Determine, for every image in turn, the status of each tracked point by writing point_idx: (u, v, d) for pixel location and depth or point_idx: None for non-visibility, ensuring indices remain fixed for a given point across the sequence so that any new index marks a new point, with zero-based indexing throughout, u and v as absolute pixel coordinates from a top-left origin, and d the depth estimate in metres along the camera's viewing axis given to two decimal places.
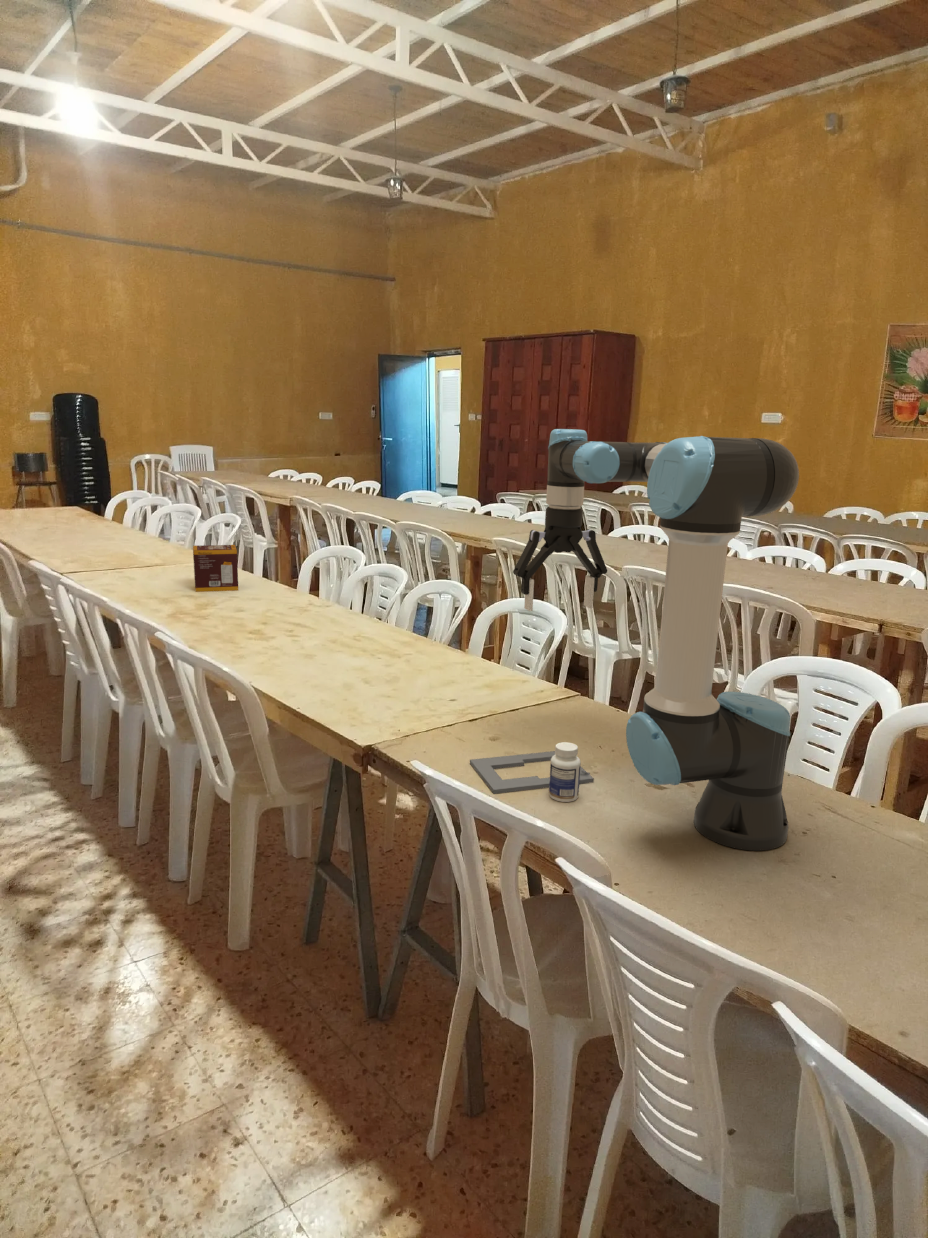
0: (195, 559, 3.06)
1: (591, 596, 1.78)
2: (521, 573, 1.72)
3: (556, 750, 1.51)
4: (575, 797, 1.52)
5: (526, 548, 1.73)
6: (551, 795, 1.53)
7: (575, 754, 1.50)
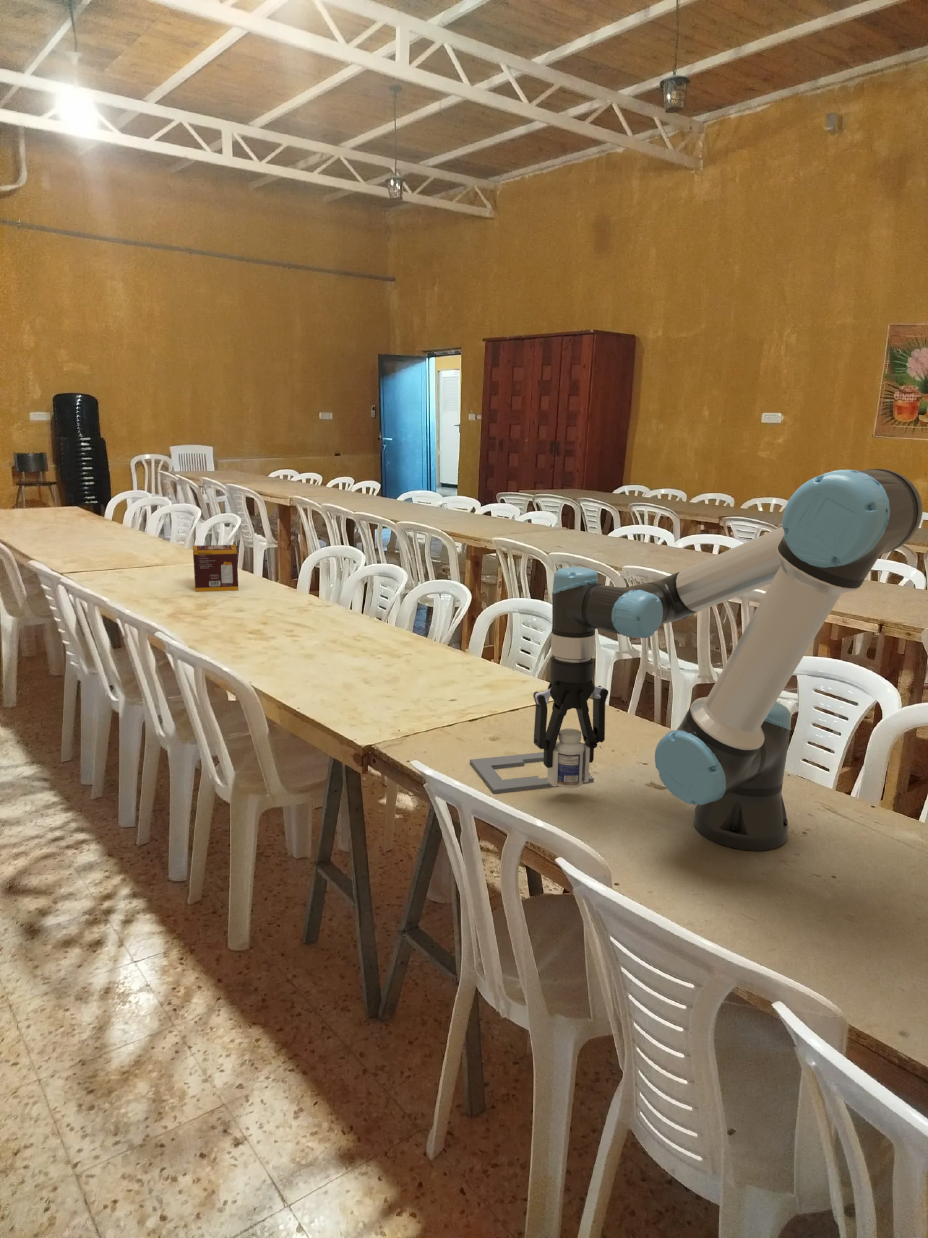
0: (195, 559, 3.06)
1: (586, 769, 1.52)
2: (543, 745, 1.48)
3: (559, 736, 1.50)
4: (580, 783, 1.51)
5: (537, 715, 1.48)
6: None
7: (579, 739, 1.49)
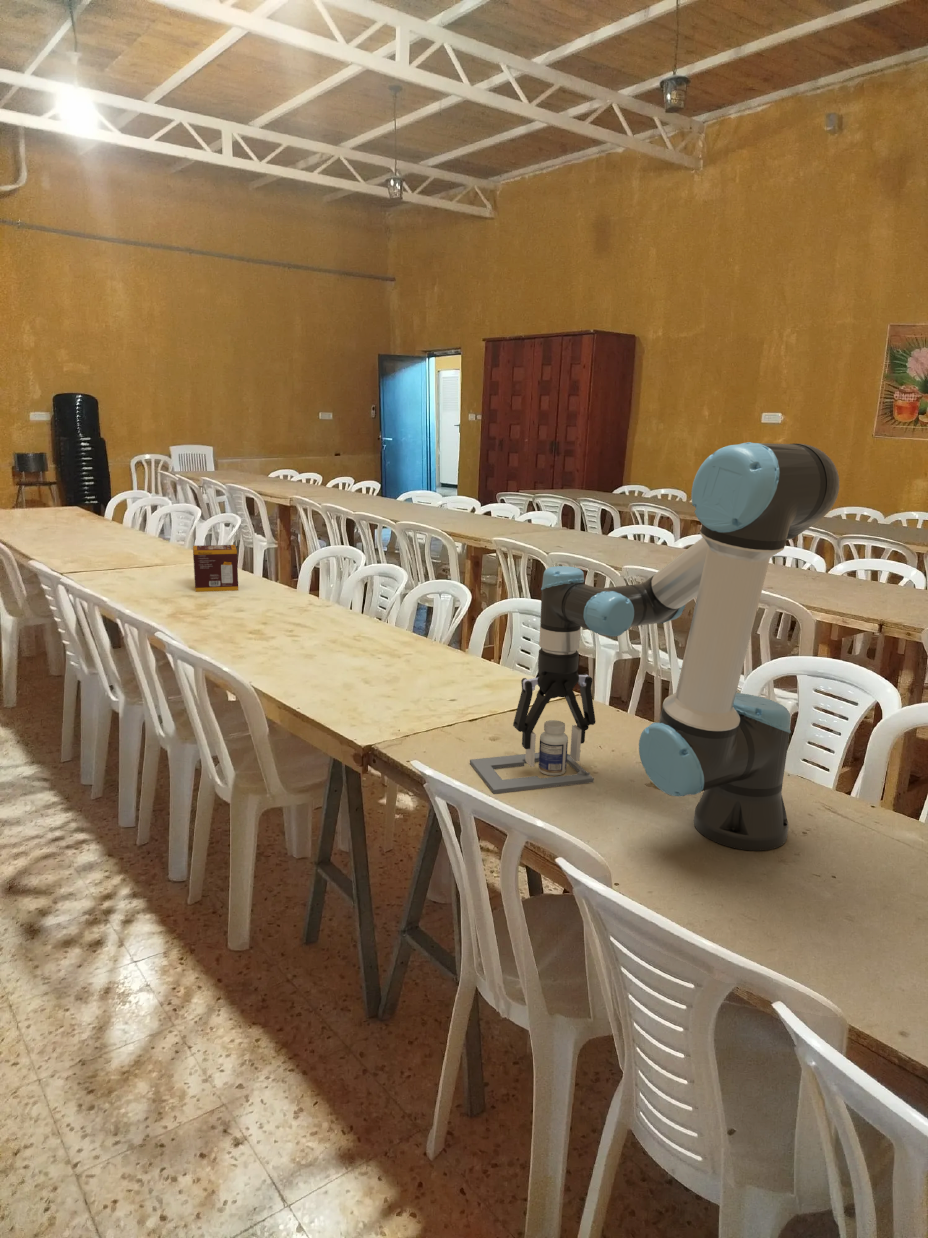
0: (195, 559, 3.06)
1: (578, 749, 1.64)
2: (522, 728, 1.59)
3: (545, 727, 1.62)
4: (563, 771, 1.63)
5: (521, 699, 1.59)
6: (540, 769, 1.63)
7: (562, 731, 1.61)
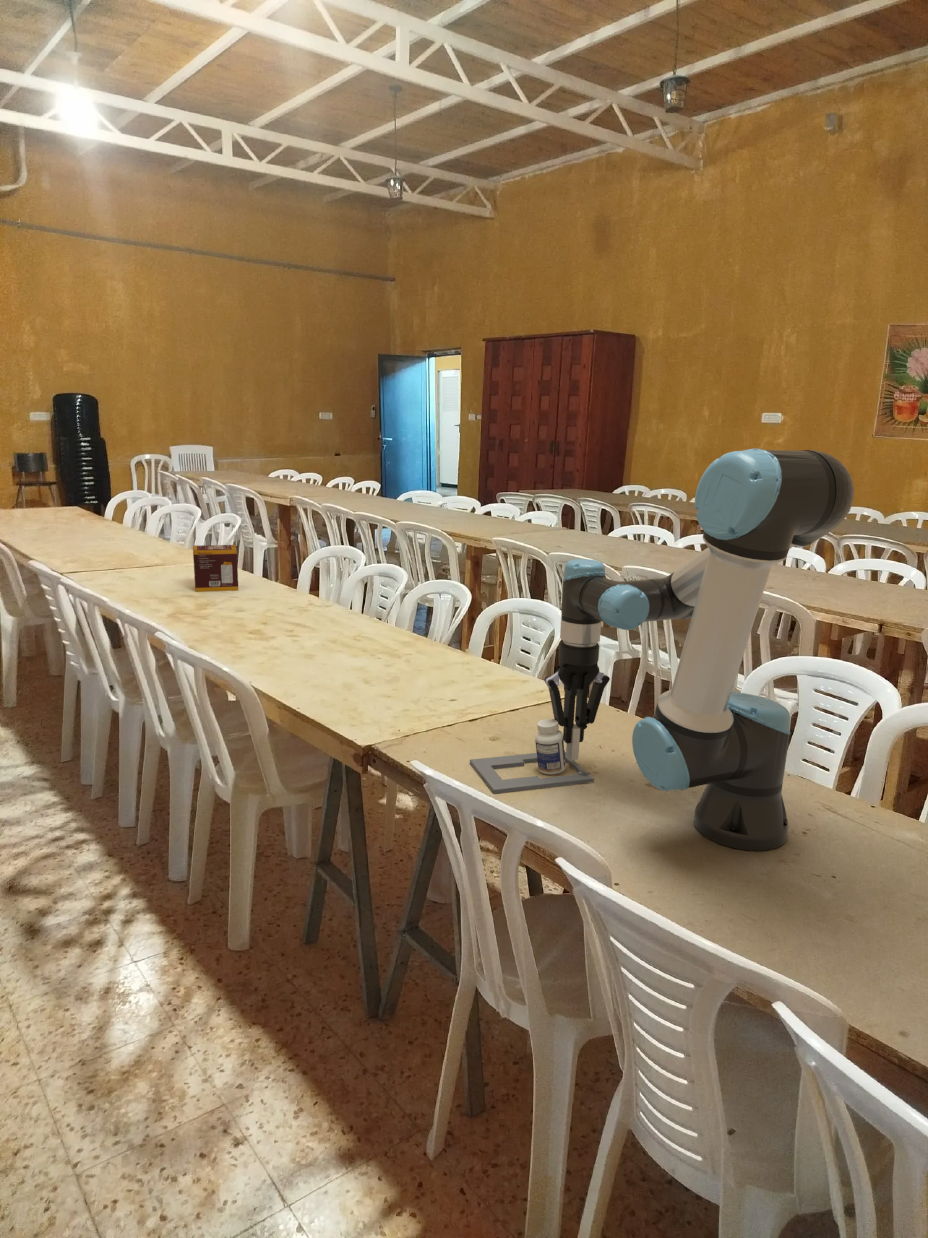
0: (195, 559, 3.06)
1: (577, 748, 1.64)
2: (563, 722, 1.62)
3: (538, 727, 1.62)
4: (562, 768, 1.62)
5: (551, 697, 1.62)
6: (540, 769, 1.63)
7: (556, 729, 1.61)
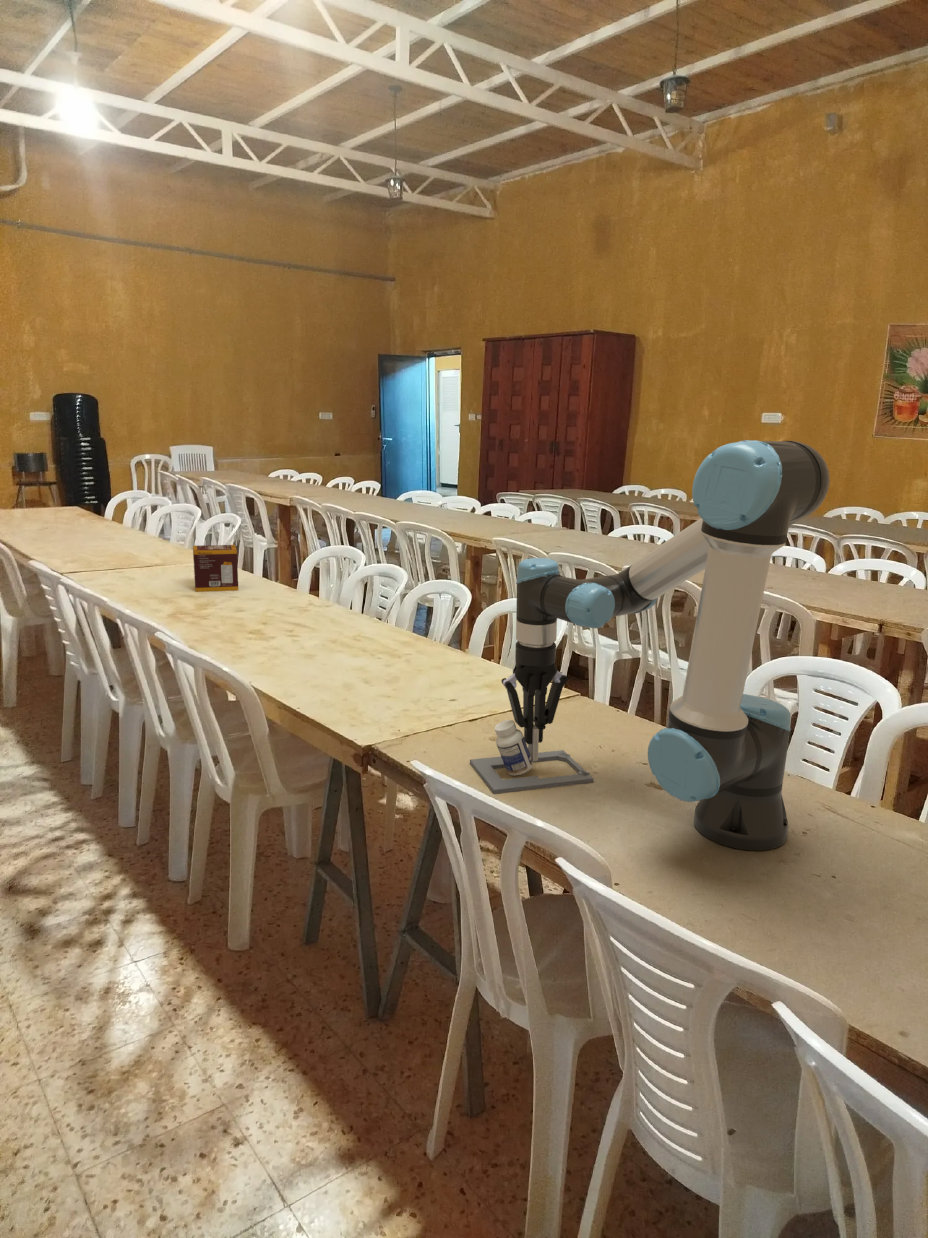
0: (195, 559, 3.06)
1: (536, 748, 1.62)
2: (523, 723, 1.60)
3: None
4: (529, 767, 1.61)
5: (510, 698, 1.59)
6: (507, 772, 1.62)
7: (513, 730, 1.59)
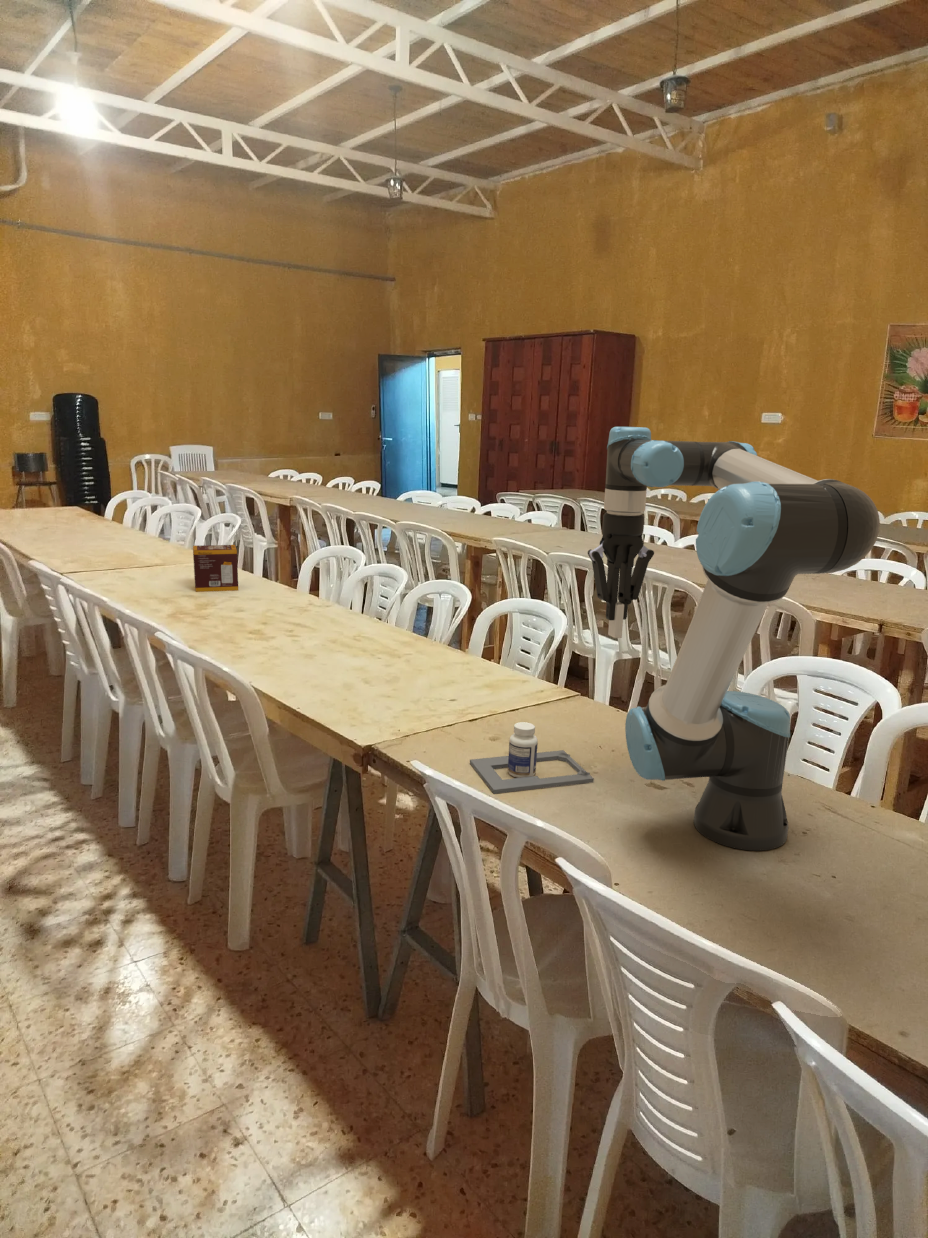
0: (195, 559, 3.06)
1: (620, 625, 1.60)
2: (607, 596, 1.58)
3: (514, 728, 1.60)
4: (531, 774, 1.61)
5: (595, 571, 1.58)
6: (509, 771, 1.62)
7: (531, 733, 1.59)
